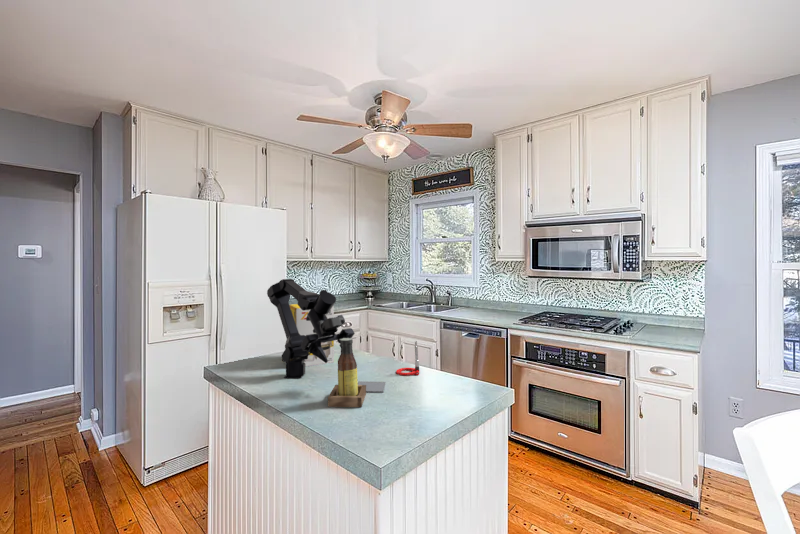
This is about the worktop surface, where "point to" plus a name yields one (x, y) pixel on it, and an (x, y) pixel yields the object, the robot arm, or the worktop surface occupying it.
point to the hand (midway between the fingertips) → (338, 359)
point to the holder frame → (346, 398)
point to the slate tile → (373, 386)
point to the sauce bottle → (347, 370)
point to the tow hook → (415, 370)
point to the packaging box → (307, 328)
